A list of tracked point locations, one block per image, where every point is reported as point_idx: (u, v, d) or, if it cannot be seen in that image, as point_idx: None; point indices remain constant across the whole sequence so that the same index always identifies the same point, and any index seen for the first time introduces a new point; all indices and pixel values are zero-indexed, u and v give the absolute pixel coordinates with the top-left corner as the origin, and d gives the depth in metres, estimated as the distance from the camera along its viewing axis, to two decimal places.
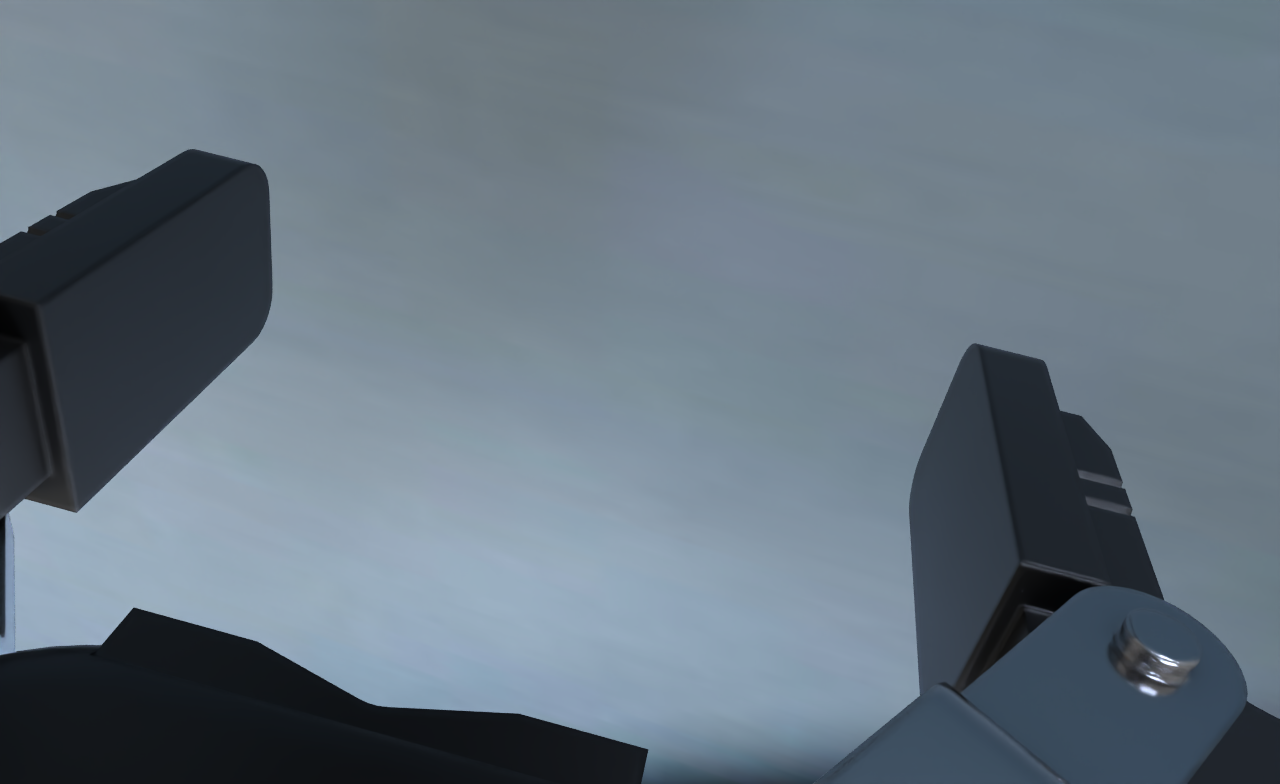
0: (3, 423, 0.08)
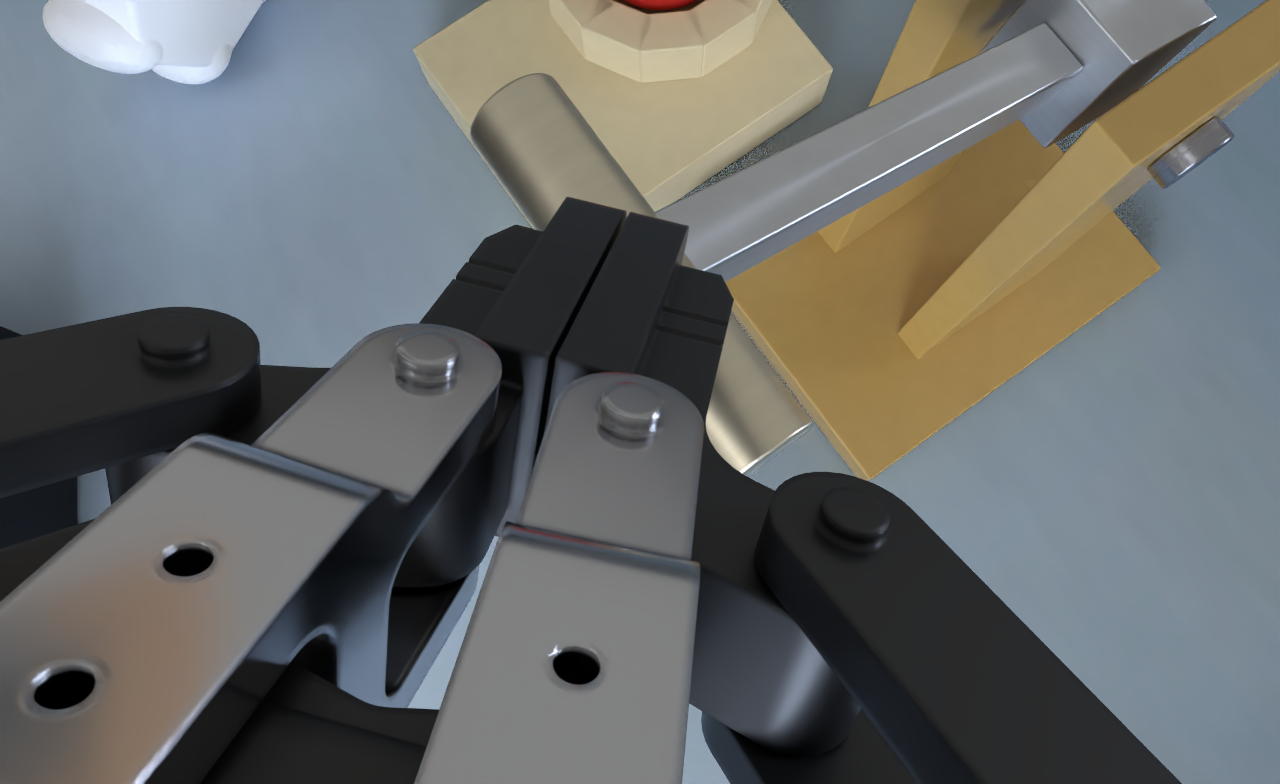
0: (503, 463, 0.09)
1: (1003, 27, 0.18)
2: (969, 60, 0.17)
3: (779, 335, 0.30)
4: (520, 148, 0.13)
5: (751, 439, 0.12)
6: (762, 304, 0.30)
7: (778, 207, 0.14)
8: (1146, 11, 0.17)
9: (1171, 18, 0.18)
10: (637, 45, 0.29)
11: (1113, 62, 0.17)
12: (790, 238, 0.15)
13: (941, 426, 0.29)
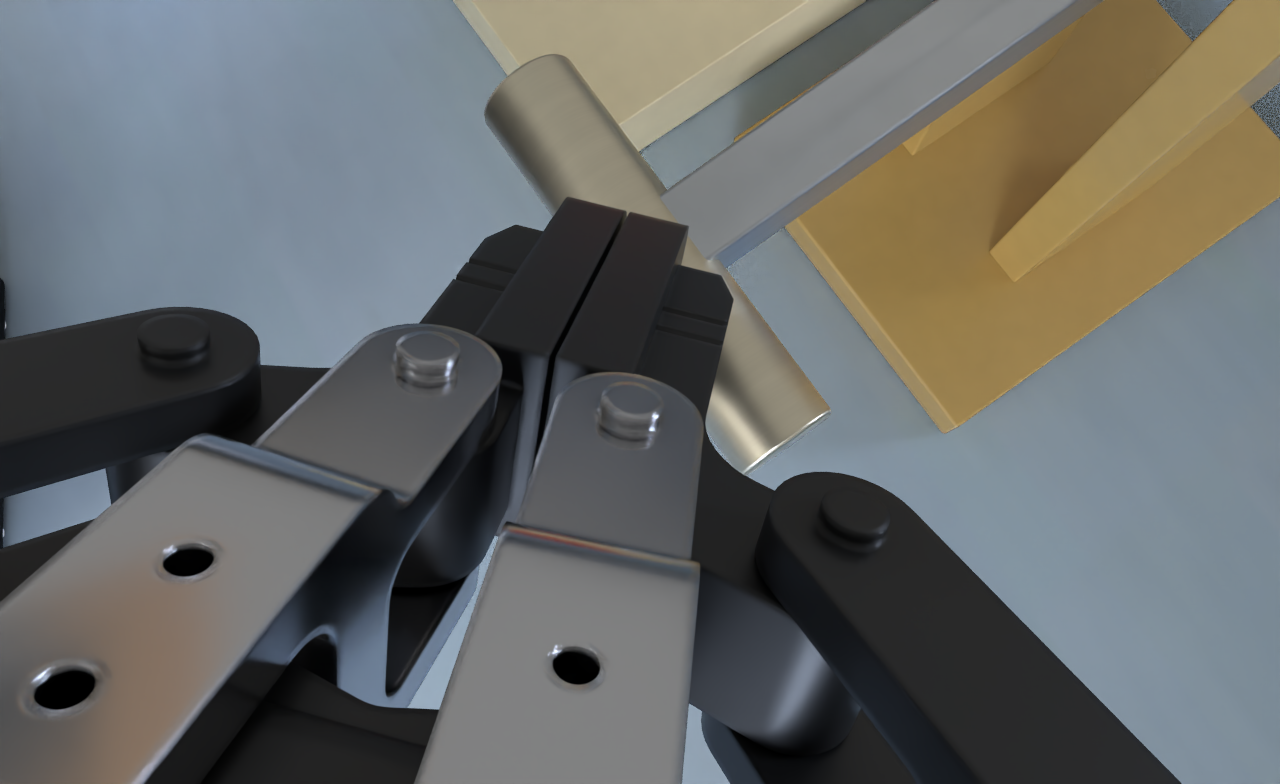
0: (503, 463, 0.09)
1: None
2: None
3: (845, 253, 0.25)
4: (521, 148, 0.13)
5: (748, 442, 0.12)
6: (824, 216, 0.25)
7: (803, 162, 0.13)
8: None
9: None
10: None
11: None
12: (833, 184, 0.13)
13: (1043, 363, 0.24)
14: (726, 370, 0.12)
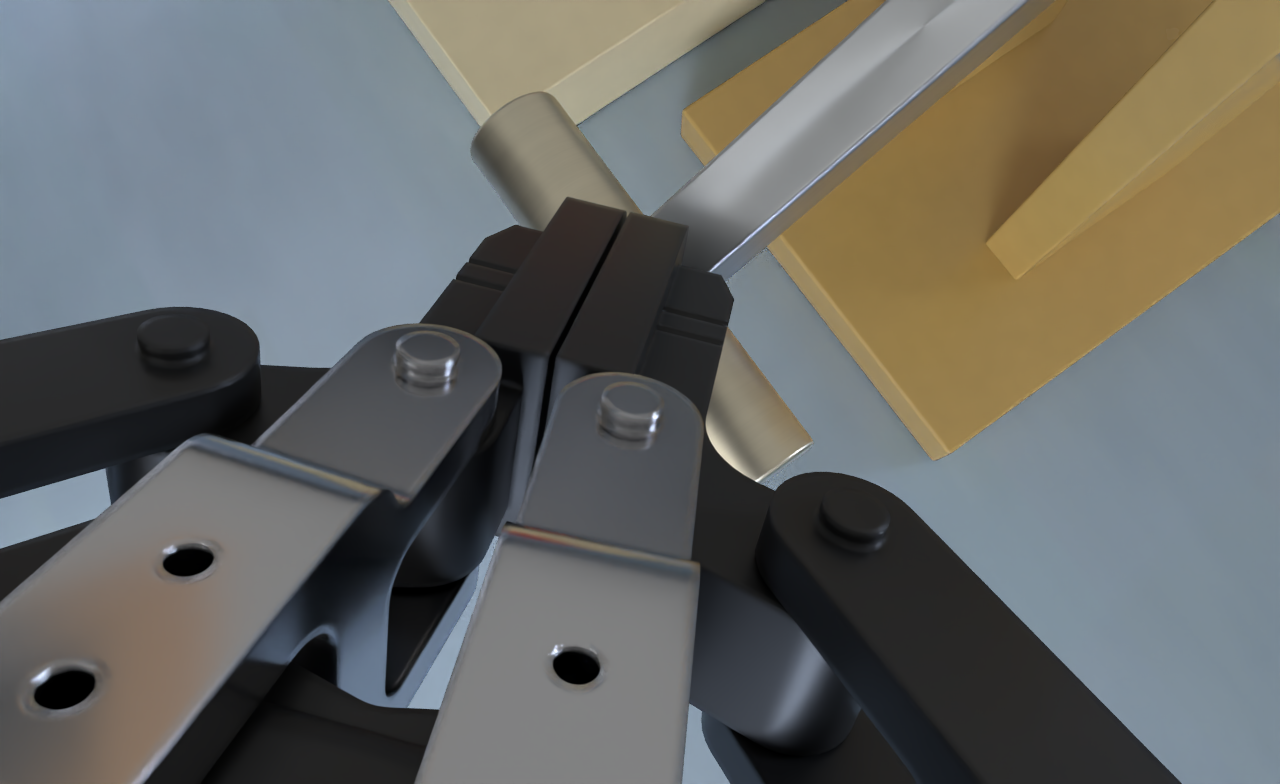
0: (503, 462, 0.09)
1: None
2: None
3: (814, 246, 0.21)
4: (503, 197, 0.14)
5: None
6: None
7: (763, 192, 0.12)
8: None
9: None
10: None
11: None
12: (809, 201, 0.13)
13: (1052, 376, 0.20)
14: None
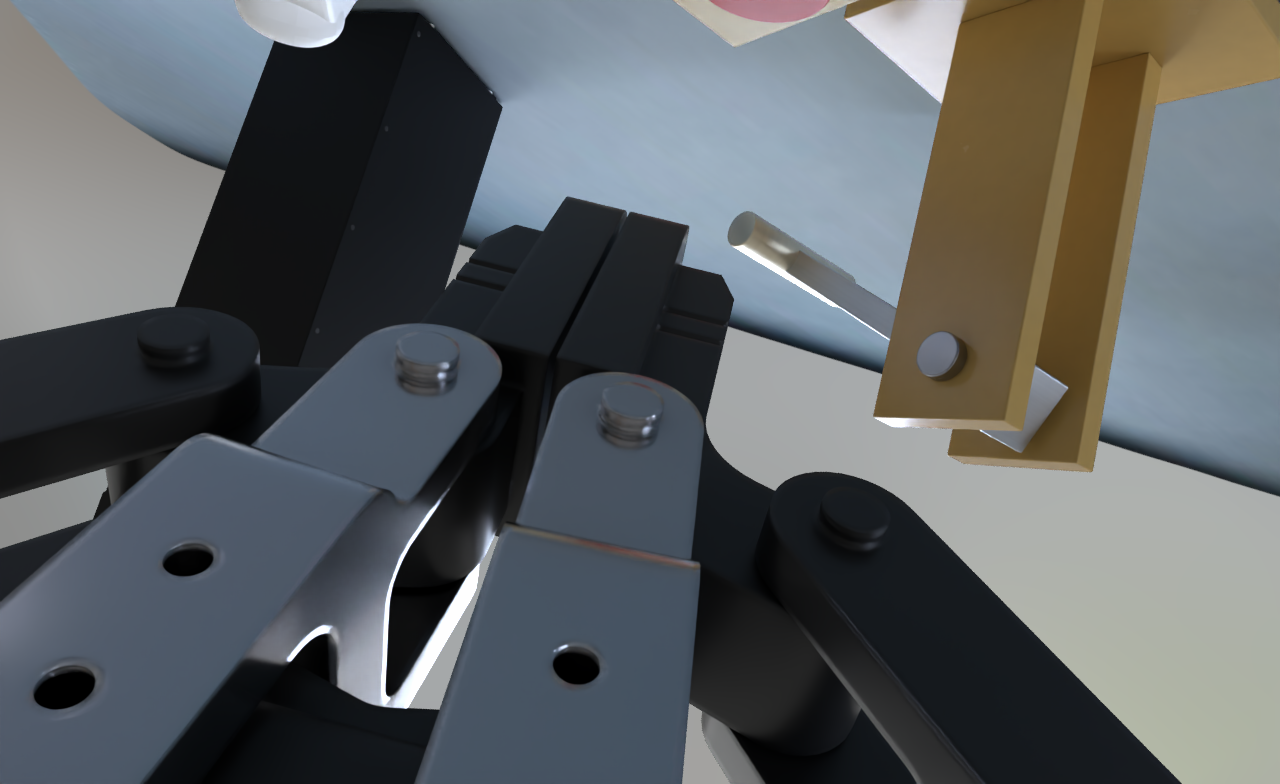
0: (503, 463, 0.09)
1: None
2: None
3: (922, 76, 0.36)
4: None
5: None
6: (908, 59, 0.36)
7: None
8: None
9: None
10: None
11: None
12: None
13: None
14: None
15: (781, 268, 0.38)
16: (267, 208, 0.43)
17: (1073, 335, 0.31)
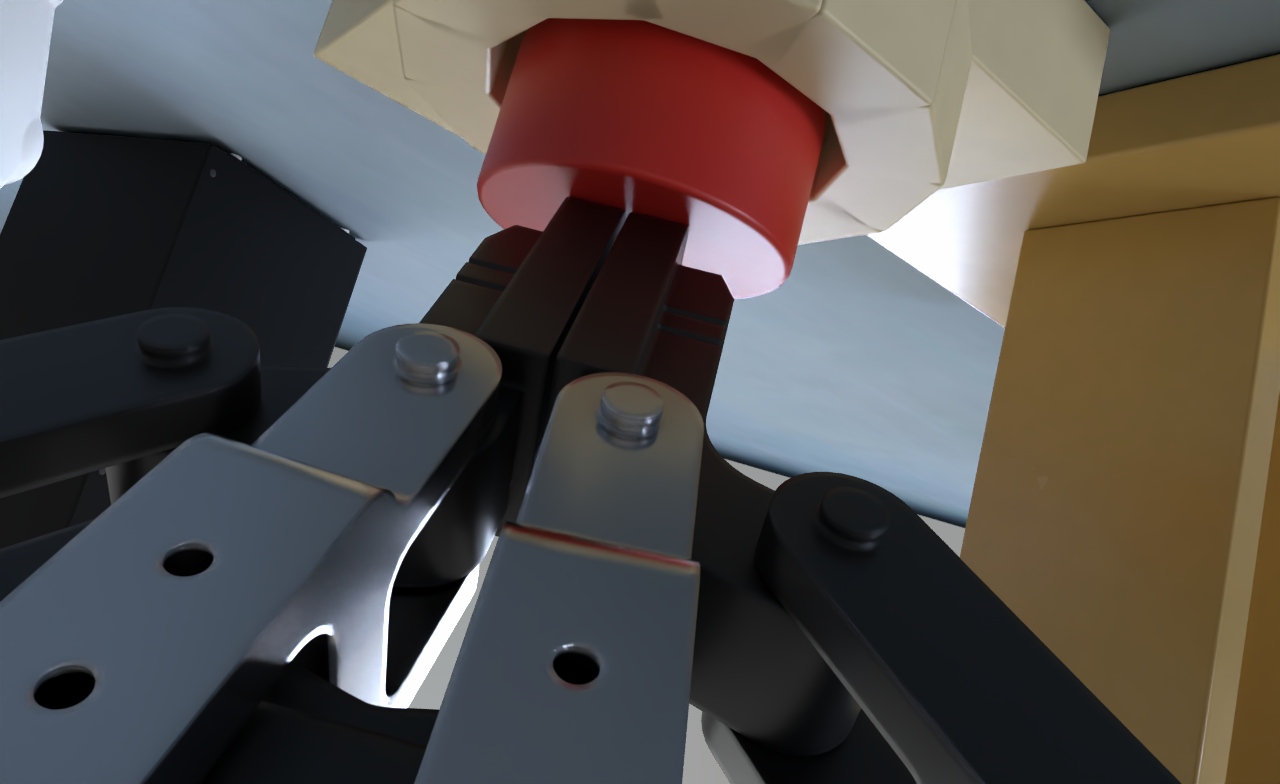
0: (503, 463, 0.09)
1: None
2: None
3: (955, 283, 0.23)
4: None
5: None
6: (933, 264, 0.22)
7: None
8: None
9: None
10: None
11: None
12: None
13: None
14: None
15: None
16: None
17: None
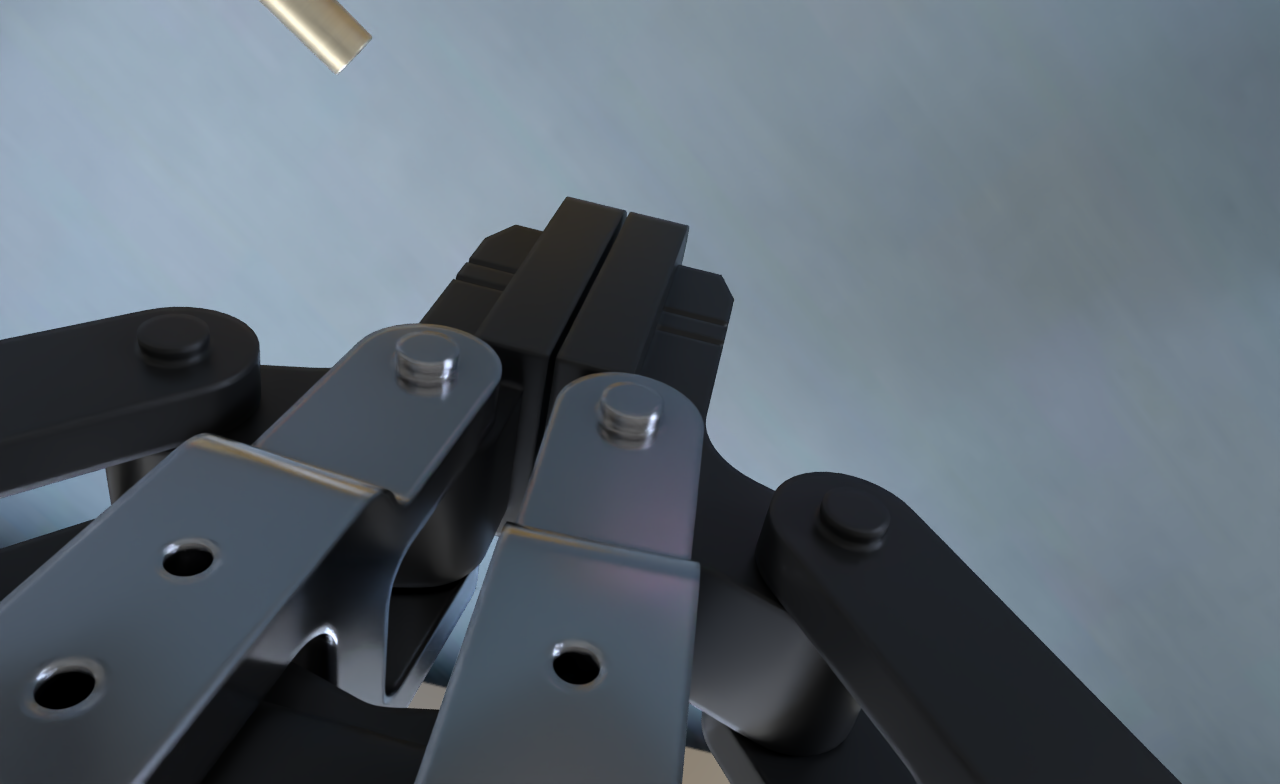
0: (503, 463, 0.09)
1: None
2: None
3: None
4: None
5: (328, 67, 0.27)
6: None
7: None
8: None
9: None
10: None
11: None
12: None
13: None
14: (304, 41, 0.26)
15: None
16: None
17: None
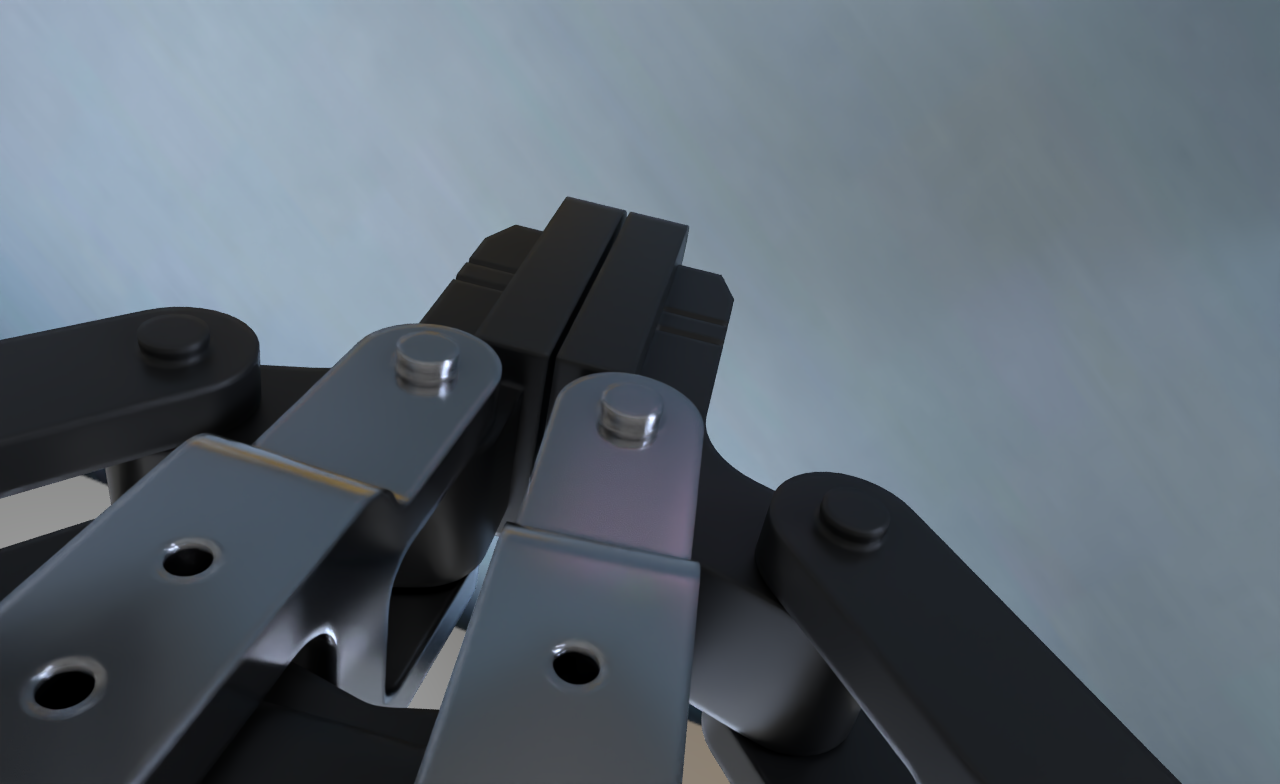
0: (503, 463, 0.09)
1: None
2: None
3: None
4: None
5: None
6: None
7: None
8: None
9: None
10: None
11: None
12: None
13: None
14: None
15: None
16: None
17: None
